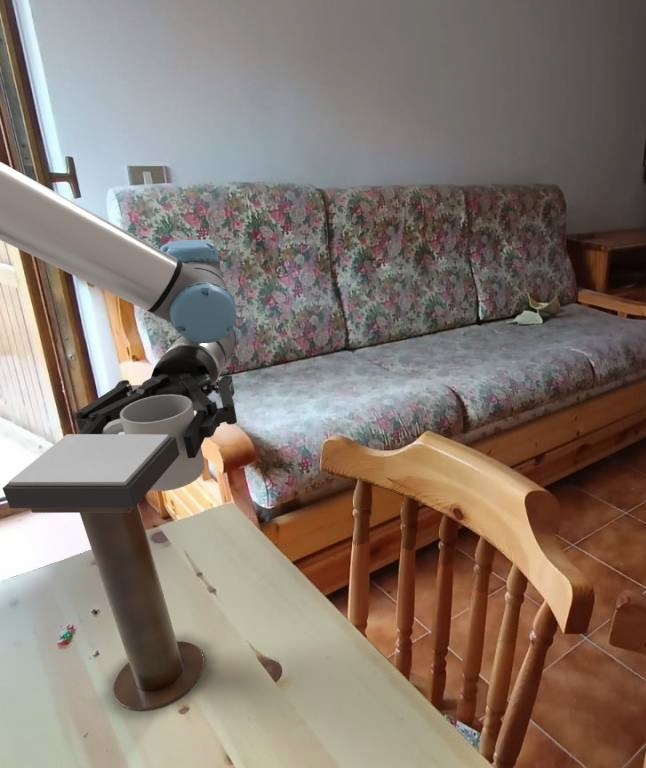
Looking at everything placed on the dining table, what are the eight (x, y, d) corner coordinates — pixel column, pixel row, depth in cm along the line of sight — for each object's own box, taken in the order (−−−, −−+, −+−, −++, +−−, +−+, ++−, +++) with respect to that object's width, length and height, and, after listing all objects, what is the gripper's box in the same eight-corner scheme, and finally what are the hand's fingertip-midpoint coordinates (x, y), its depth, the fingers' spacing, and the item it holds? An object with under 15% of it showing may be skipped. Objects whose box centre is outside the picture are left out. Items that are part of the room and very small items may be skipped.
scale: (6, 508, 51) (-4, 483, 50) (68, 454, 59) (61, 432, 58) (134, 508, 52) (127, 483, 51) (179, 454, 59) (174, 432, 58)
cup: (199, 488, 72) (184, 420, 69) (102, 499, 70) (81, 428, 66) (210, 456, 79) (197, 392, 75) (121, 465, 76) (103, 399, 72)
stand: (98, 716, 62) (19, 508, 51) (141, 648, 70) (80, 454, 59) (184, 715, 62) (124, 508, 52) (218, 647, 70) (171, 454, 59)
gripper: (278, 389, 91) (251, 472, 72) (107, 398, 87) (28, 489, 67) (271, 341, 88) (241, 413, 68) (93, 348, 84) (7, 428, 64)
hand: (136, 451), depth 68 cm, fingers closed on cup, 10 cm apart
